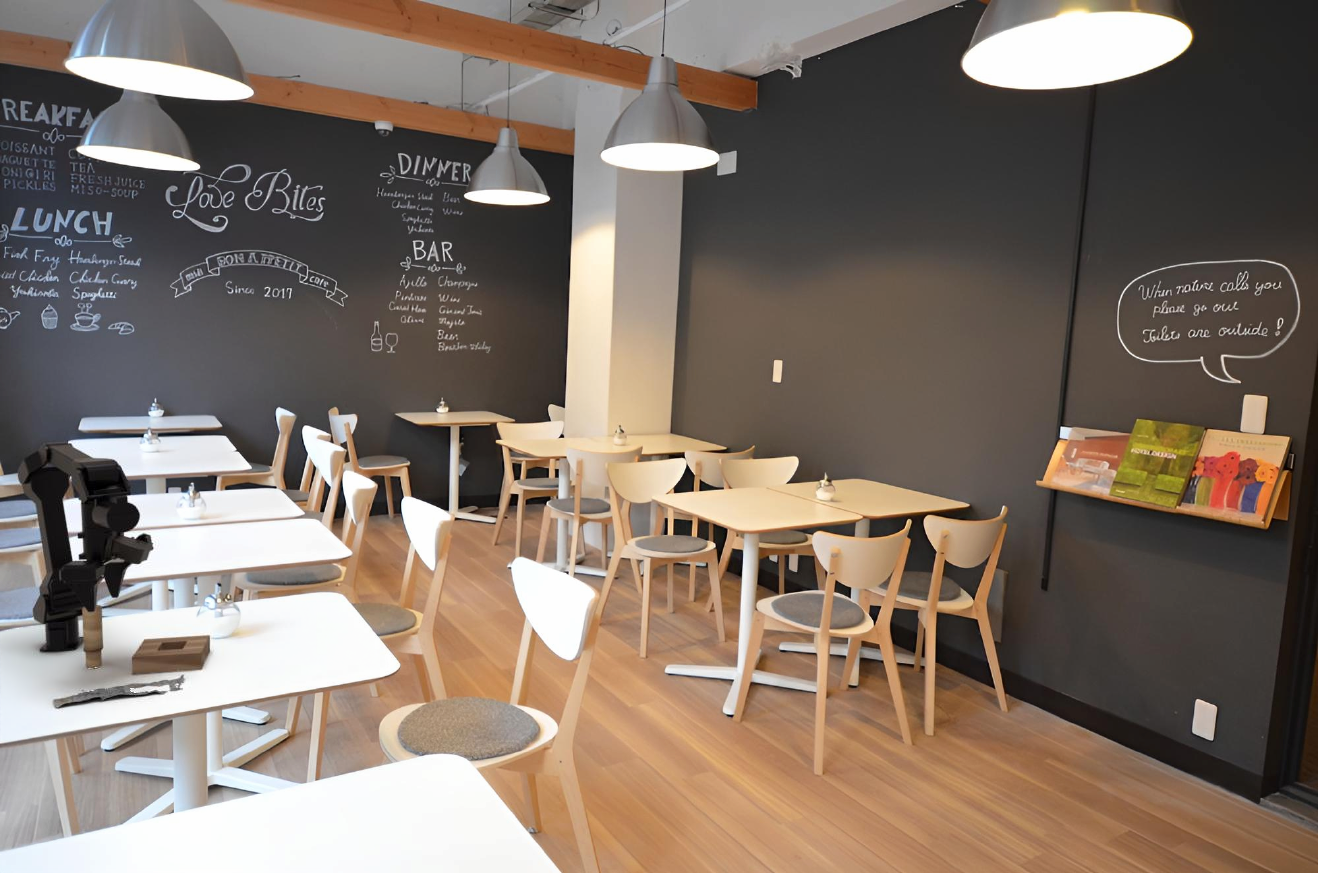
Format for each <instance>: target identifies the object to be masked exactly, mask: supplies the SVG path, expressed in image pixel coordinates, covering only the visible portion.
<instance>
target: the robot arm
mask: <svg viewBox="0 0 1318 873" xmlns="http://www.w3.org/2000/svg"><path fill="white" fill-rule="evenodd" d="M126 476H127V475H126V474H125V472H124V470H123V469H122V466H121V465H120V463H118V461H117V460H115V459H113V458H107V457H106V458H104V457H102V458H100V457H92V456H90V455H89V454H87V453H85V452H83V451H82V450H79V449H77V448H75V447H74V446H73V444H72V443H70V442H67V441H63V442H62V441H61V442H47V443H44V444H42V445H40V446H39V448H38V450H37V451H35V452H33V453H31V454H30V455H28V456H26V457H25V458H24V459H23V460H22V462H21V463H20V465H19V467H18V469H17V479H18V482H19V484H21V487H22V490H23V491H22V492H23V493H24V495H25V496H27V497H28V499H29V500H31V501H32V503H34V505H35V508H36V509H35V510H36V515H37V517H36V518H37V522H38V527H39V535H40V540H41V546H42V553H43V558H44V565H45V570H46V574H45V575H44V578H43V580H42V582H41V583H40V585H39V587H38V588H39V589H38V590H39V596H38V598H37V600H36V602H35V604H34V606H33V608H32V615H33V620H35V621H36V622H38V623H39V624H41V625H44V628H45V629H44V630H45V632H44V633H45V643H44V644H43V645H42V646H41V647H40V648H39V652H55V651H71V650H72V651H73V650H77V649H78V648H79V647H80V645H81V644H82V643H83V636H80V628H79V627H80V625H79V617H81V616H82V608H83V607H85V608H86V610H87V611H88V612H94V611H95V608H96V605H97V597H98V588H99V584H100V583H101V582H102V581H103V580H104V582H105V584H106V587H107V590H108V592H109V594H110V596H111V599H112V598H113V599H117V598H119V596H120V593H121V589H122V585H123V582H124V579H125V576H126V573H127V570H128V569H129V567H131V566H132V565H140V564H142V562H144V561H147V560H148V557H149V555H150V553H151V551H153V550H154V546H153V545H154V542H153V540H152V536H151V534H147V533H145V532H143V533H141V534H139V535H138V536H137V537H136V538H135V536H131V537H129V536H125V533H127V532H130V531H132V530H133V529H135V528H136V527H137V526H138V524H139V522H140V519H141V514H140V510H139V509H138V507H137V506H136V505H135V504H134V503H131V502H129V500H128V499H129V498H128V496H131V495H132V492H131V486H132V485H131V484H130V482H129V479H128V478H127V477H126ZM70 479H71V484H70ZM70 485H72V486H73V487H74V489H75V490H76V492H77V494H78V495H79V496H78V497H77V499H78V500H79V501H80V511H81V512H80V514H81V531H80V532H77V533H76V534H77V535H76V536H77V539H78V540H80V539H82V551H83V552H81V553H79V554H78V560H74V559H73V554H72V548H71V541H70V536H69V535H70V534H69V530H68V523H67V518H66V512H65V505H64V498H65V496H66V494H67V492H68V490H69V488H70ZM82 617H83V616H82Z"/></svg>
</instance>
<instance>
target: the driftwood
mask: <svg viewBox="0 0 1318 873" xmlns="http://www.w3.org/2000/svg"><path fill="white" fill-rule="evenodd" d="M184 676H185V674H181V676H179V678H173V679H169V680H168V679H163V680H159V681H152V682H143V683H142V682H141V683H139V682H138V683H137V682H136V683H129V684H125V685H116V686H111V687H103V688H97V689H93V690H94V691H91V690H88V691H89V692H87V691H85V690H84V689H83V690H81V691H82V692H83V693H82V692H79V693H78V694H75V695H74V694H73V695H71V696H69V697H68V696H65V697H66V698H65V697H61V698H54V699H52V701H53V703H54V707H55V708H60V707H61V706H63V705H65V704H70V703H76V702H78V703H79V702H84V701H88V700H90V699H93V698H100V699H101V701H104V700H106V699H107V698H111V697H114V696H115V697H116V696H118V695H131V696H133V695H134V696H137V695H138V696H139V695H148V694H150V693H159V694H162V695H165V694H166V693H168V692H177V691H181V690H184V688H182V687H181V686H182V685H183V684H185V682H184V681H185V677H184ZM164 686H168V687H169V690H167V691H166V690H161V691H160V690H156V689H155V690H151V691H146V690H145V691H140V692H139V691H138V693H137V692H136V693H134V692H135V691H133V692H131V691H130V690H131V689H130V688H134V689H136V688H137V689H139V688H143V687H161V688H162V687H164ZM105 688H106V689H105ZM107 688H108V689H107ZM57 706H58V707H57Z"/></svg>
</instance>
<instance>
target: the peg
mask: <svg viewBox="0 0 1318 873" xmlns="http://www.w3.org/2000/svg"><path fill="white" fill-rule="evenodd" d="M102 608H103V606H102V605H100V604H96V608H95V611H94V612H88V611H87V610H86V608H85V607H83V608H82V637H83V642H82V643H83V644H82V645H83V648H82V650H83V652H84V653H85V667H87V668H86V669H88V668H94V669H96V668H95V667H98V668H100V666H101V665H102V666H103V661H102V660H103V659H102V658H103V656H102V655H103V654H102V650H103V649H104V634H103V609H102ZM102 666H101V667H102Z"/></svg>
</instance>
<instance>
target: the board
mask: <svg viewBox="0 0 1318 873" xmlns="http://www.w3.org/2000/svg"><path fill="white" fill-rule="evenodd" d="M210 638H211V635H210V634H209V635H208V634H206V635H203V634H202V635H189V636H188V635H187V636H177V637H175V636H173V637H159V638H157V637H156V638H145V639H143V641H142V642H141V644H140V645H139V646H138V648H137V649H136V651H135V652H134V654H133V655H132V657H131V667H132V668H131V672H132V675H143V674H144V675H145V674H156V673H157V674H158V673H159V674H160V673H170V672H171V673H174V672H184V671H186V672H187V671H199V670H200V671H201V670H202V669H203V666H204V665H205V663H206V661H207V658H208V657H209V654H210V653H211V639H210Z"/></svg>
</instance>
